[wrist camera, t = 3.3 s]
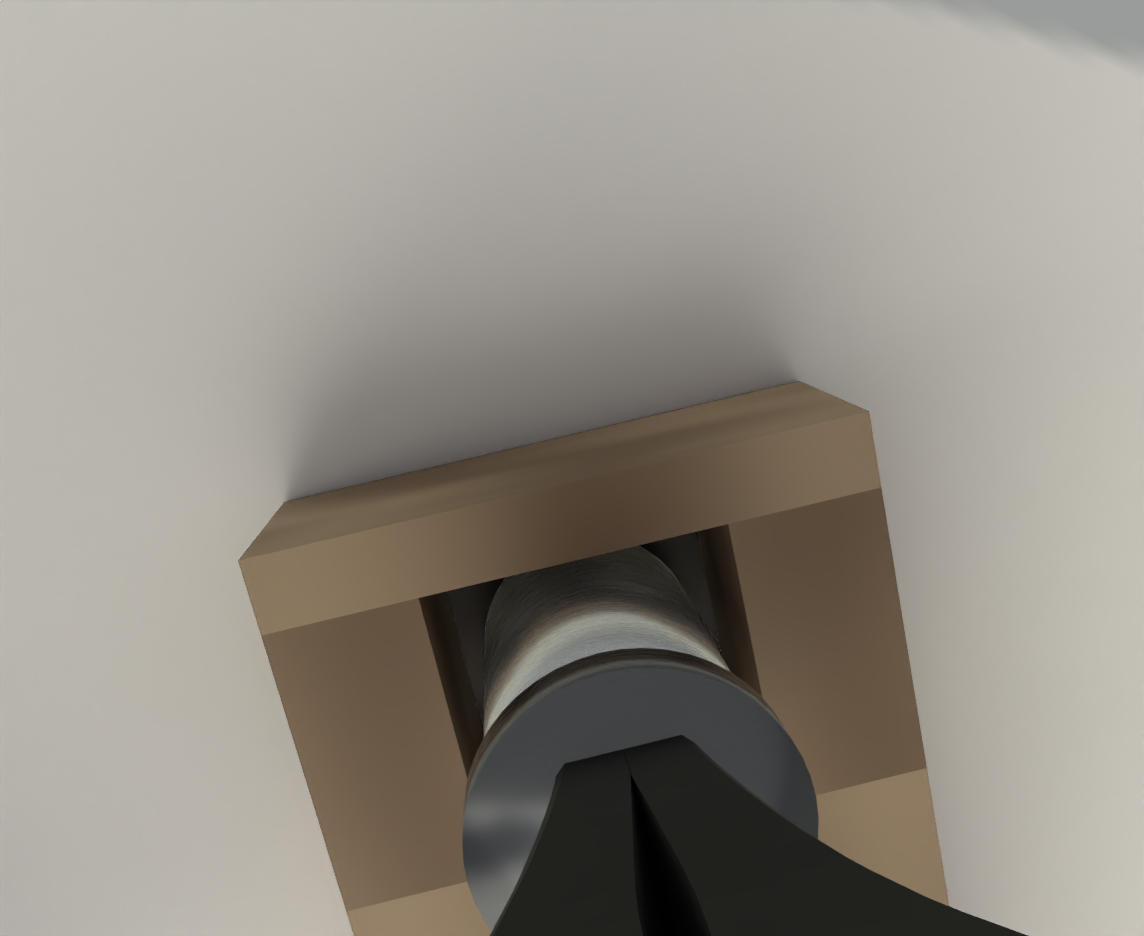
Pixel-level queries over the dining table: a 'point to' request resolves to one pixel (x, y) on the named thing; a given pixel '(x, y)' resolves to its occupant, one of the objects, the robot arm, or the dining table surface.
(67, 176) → the dining table surface
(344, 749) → the jig
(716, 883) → the robot arm
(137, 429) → the dining table surface
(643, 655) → the plunger
